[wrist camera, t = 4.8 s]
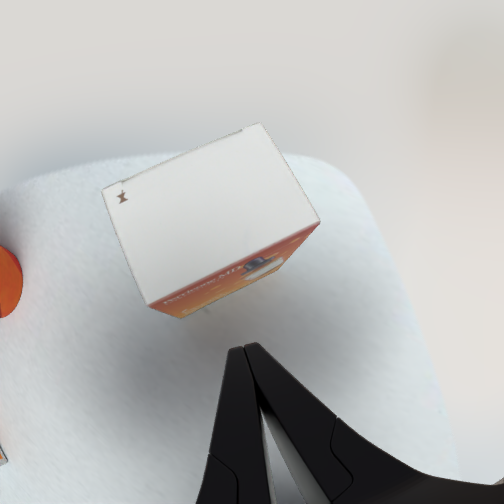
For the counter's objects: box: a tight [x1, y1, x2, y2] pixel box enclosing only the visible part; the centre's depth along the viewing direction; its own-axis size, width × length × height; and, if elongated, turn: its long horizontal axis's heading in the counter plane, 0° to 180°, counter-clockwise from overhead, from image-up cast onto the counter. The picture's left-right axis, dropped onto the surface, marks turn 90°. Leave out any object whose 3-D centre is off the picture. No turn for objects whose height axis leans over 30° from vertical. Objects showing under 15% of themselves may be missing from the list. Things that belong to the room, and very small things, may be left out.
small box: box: [101, 123, 320, 319], centre depth 18 cm, size 8×6×10 cm
